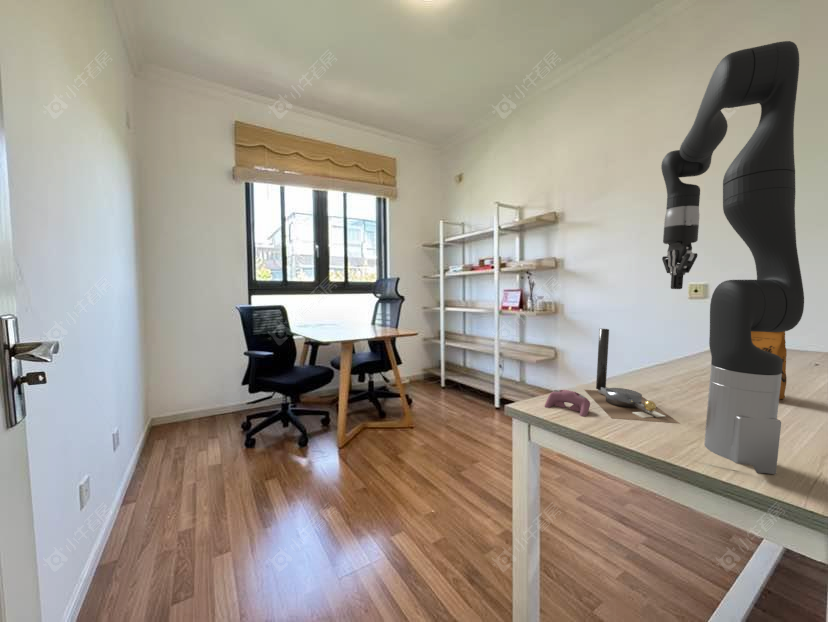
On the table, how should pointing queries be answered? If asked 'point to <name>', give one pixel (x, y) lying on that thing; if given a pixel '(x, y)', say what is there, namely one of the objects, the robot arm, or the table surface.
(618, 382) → the table surface
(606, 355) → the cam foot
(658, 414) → the walnut board
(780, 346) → the coffee package
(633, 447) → the table surface
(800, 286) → the robot arm
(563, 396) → the video game controller
